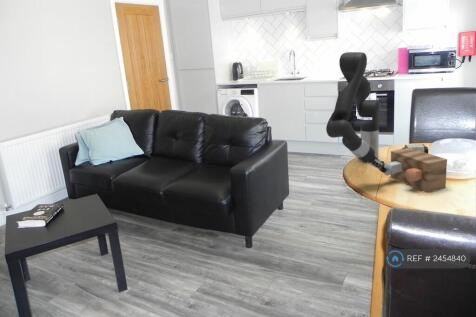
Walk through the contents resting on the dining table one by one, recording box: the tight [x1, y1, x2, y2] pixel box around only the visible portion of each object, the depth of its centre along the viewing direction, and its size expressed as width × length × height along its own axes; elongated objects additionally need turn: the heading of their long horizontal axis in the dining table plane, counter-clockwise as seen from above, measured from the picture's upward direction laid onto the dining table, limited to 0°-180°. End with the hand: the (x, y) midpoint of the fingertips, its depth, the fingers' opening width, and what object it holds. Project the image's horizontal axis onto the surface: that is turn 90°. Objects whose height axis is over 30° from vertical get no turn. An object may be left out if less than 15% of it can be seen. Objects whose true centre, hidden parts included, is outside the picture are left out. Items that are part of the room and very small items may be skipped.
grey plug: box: [383, 161, 403, 176], centre depth 186 cm, size 6×11×6 cm, turn 110°
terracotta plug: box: [405, 168, 423, 182], centre depth 176 cm, size 6×11×6 cm, turn 110°
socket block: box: [390, 147, 448, 193], centre depth 183 cm, size 23×10×13 cm, turn 20°
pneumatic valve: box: [401, 143, 429, 154], centre depth 204 cm, size 6×12×12 cm, turn 79°
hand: (384, 171), depth 184 cm, fingers closed
